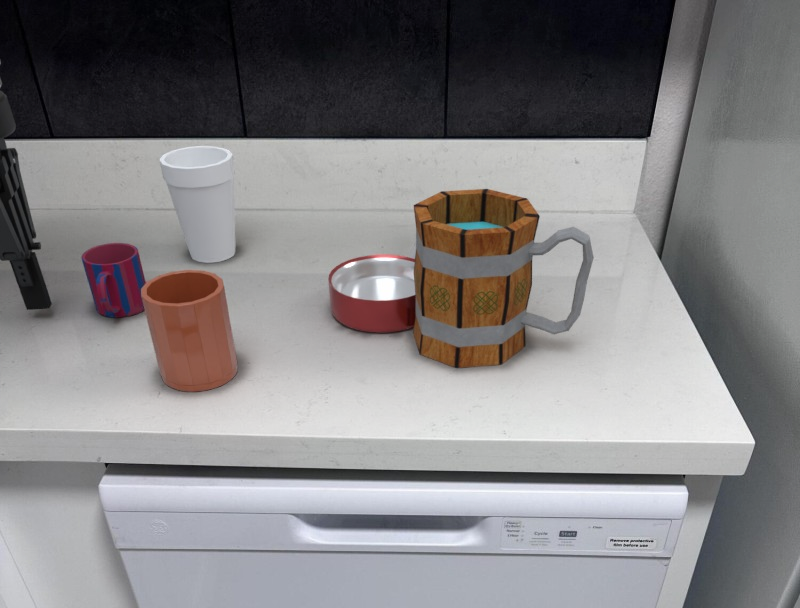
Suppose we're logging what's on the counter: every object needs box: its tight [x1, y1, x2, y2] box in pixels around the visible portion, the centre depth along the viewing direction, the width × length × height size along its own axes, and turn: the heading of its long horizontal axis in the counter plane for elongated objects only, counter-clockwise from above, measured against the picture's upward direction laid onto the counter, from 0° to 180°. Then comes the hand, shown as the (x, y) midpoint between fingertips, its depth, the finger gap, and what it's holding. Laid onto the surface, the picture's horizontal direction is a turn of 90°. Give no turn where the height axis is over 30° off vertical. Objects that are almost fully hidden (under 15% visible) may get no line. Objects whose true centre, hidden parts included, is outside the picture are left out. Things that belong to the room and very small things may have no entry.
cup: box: [81, 242, 147, 318], centre depth 97 cm, size 7×10×7 cm
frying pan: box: [327, 243, 416, 334], centre depth 103 cm, size 32×13×6 cm, turn 164°
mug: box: [412, 188, 595, 369], centre depth 87 cm, size 20×14×15 cm
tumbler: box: [141, 269, 239, 393], centre depth 85 cm, size 8×8×10 cm
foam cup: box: [159, 145, 236, 264], centre depth 108 cm, size 10×9×13 cm
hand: (39, 306), depth 97 cm, fingers closed
